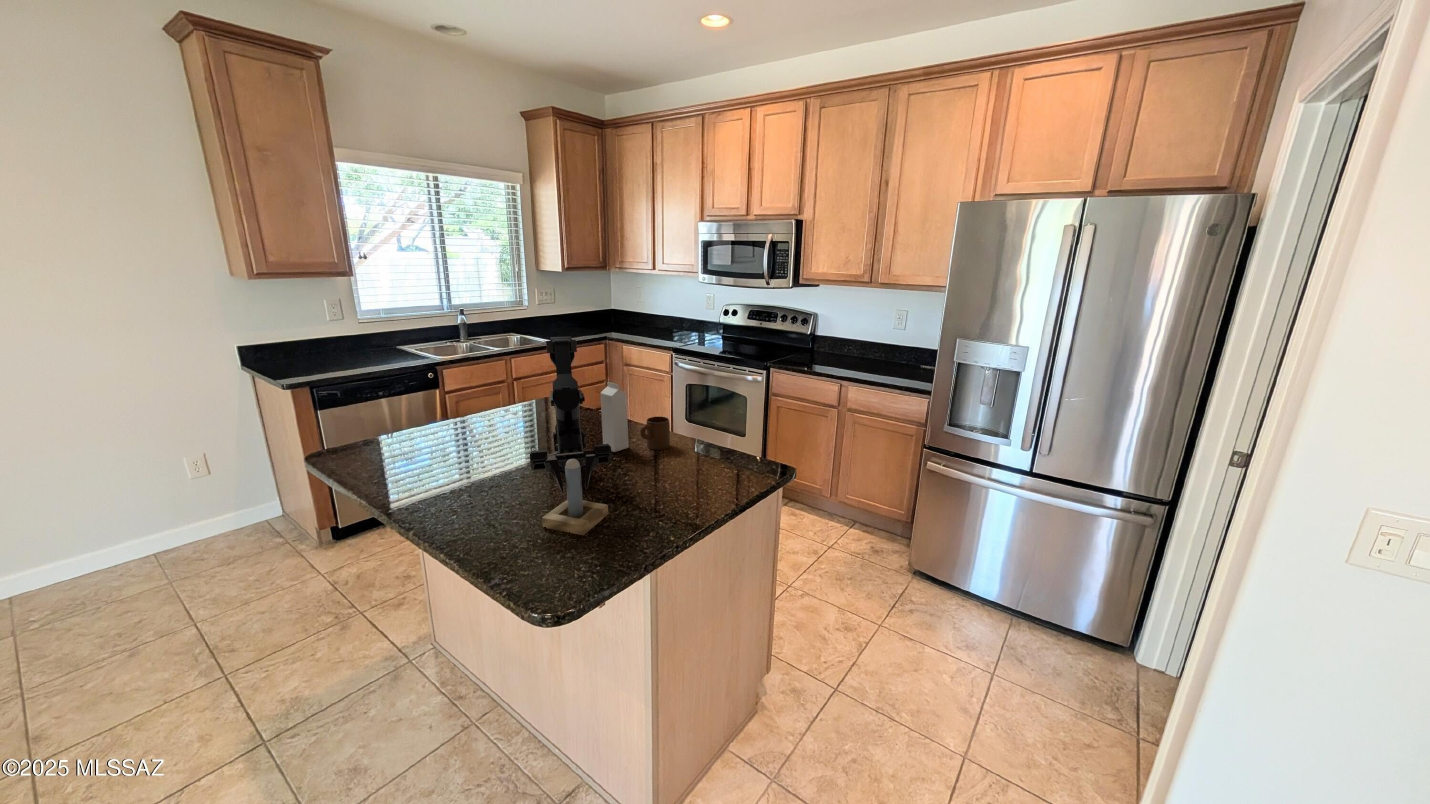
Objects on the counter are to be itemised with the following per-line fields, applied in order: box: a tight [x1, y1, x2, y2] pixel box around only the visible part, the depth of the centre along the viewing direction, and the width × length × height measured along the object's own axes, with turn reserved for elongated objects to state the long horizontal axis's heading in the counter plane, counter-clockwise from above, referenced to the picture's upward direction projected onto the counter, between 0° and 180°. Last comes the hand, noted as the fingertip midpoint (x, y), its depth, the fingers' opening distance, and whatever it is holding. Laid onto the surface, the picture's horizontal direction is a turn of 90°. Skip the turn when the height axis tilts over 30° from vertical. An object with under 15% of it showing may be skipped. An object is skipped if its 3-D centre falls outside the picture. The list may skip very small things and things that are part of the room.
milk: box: [599, 381, 630, 453], centre depth 172 cm, size 6×6×22 cm
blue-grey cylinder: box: [564, 459, 584, 519], centre depth 125 cm, size 4×4×16 cm
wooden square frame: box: [541, 499, 609, 536], centre depth 127 cm, size 11×11×2 cm
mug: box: [639, 416, 671, 451], centre depth 174 cm, size 12×8×9 cm, turn 145°
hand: (574, 490), depth 124 cm, fingers open, 5 cm apart
